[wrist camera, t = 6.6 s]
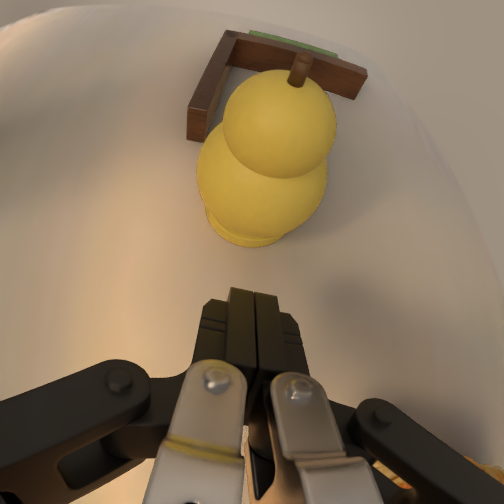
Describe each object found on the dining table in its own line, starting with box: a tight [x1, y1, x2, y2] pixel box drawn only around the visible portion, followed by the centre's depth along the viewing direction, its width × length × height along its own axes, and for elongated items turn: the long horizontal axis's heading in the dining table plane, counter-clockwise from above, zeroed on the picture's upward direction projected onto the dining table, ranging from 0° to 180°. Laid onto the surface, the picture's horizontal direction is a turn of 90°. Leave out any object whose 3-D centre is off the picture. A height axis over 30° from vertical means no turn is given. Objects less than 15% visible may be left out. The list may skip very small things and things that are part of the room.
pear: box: [197, 51, 337, 247], centre depth 14 cm, size 6×6×11 cm
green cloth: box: [249, 30, 338, 58], centre depth 25 cm, size 9×5×1 cm, turn 81°
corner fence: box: [187, 30, 368, 142], centre depth 21 cm, size 12×11×3 cm
